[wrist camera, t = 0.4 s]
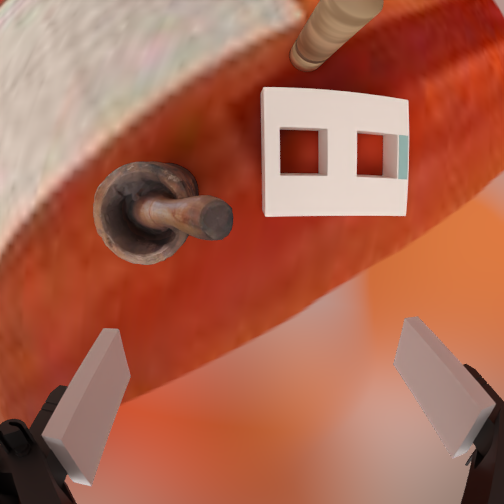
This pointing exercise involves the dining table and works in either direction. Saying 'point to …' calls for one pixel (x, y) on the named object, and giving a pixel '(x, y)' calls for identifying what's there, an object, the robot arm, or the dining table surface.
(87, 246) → the dining table surface
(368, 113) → the board
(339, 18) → the leg peg
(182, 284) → the dining table surface
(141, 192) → the mortar and pestle
